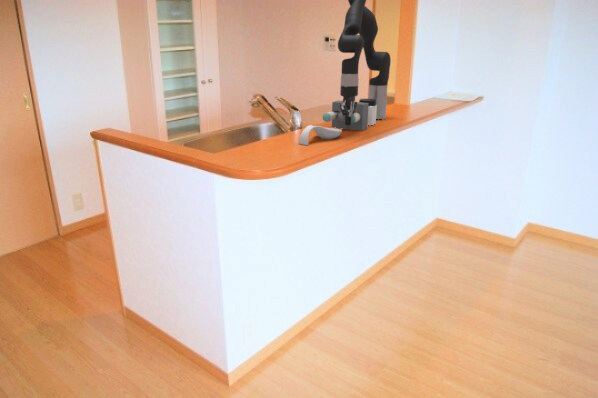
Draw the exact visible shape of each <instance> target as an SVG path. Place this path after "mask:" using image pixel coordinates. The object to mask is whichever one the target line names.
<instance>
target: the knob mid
mask: <svg viewBox="0 0 598 398" xmlns="http://www.w3.org/2000/svg"><path fill="white" fill-rule="evenodd" d="M338 120H339V121H341V122H343V121H345V116H343V114H342V113H339V114H338Z"/></svg>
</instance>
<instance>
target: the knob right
mask: <svg viewBox="0 0 598 398" xmlns="http://www.w3.org/2000/svg"><path fill="white" fill-rule="evenodd" d="M360 118H361V114H358V113H354V114H352V116H351V123H355V122H357V121H359V120H360Z"/></svg>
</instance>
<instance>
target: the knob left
mask: <svg viewBox="0 0 598 398" xmlns="http://www.w3.org/2000/svg"><path fill="white" fill-rule="evenodd" d="M338 114H339V113H338V112H336V113H335V112H333V111H332V110H331V111H328V112H325V113H323V115H322V120H323V121H324V122H326V123H328V122H332V120H334V119H335V118H336V116H338Z"/></svg>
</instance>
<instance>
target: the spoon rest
mask: <svg viewBox="0 0 598 398" xmlns="http://www.w3.org/2000/svg"><path fill="white" fill-rule="evenodd" d="M313 130H314V132H315V134H316V135H317V136H318V137H319V138H320V139H322V140H334V139H336V138H338V137H339V136H340V135H341V134H342V132H343V129H338V128H332V127H324V126H320V125H312V124H309V125H307V126H306V127H304V128H303V130H302V132H301V133H300V136H299V138H298V144H299V145H303V146H309V137H310V133H311V132H312V131H313Z"/></svg>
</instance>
